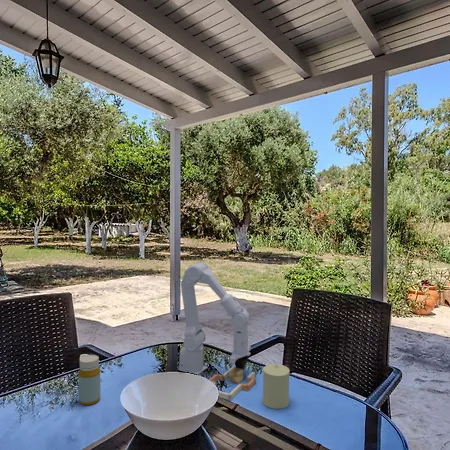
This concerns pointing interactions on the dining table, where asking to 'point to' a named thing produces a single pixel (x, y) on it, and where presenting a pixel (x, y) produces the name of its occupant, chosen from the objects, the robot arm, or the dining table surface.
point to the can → (276, 386)
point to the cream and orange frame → (240, 387)
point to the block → (236, 375)
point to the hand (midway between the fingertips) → (240, 374)
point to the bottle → (89, 380)
